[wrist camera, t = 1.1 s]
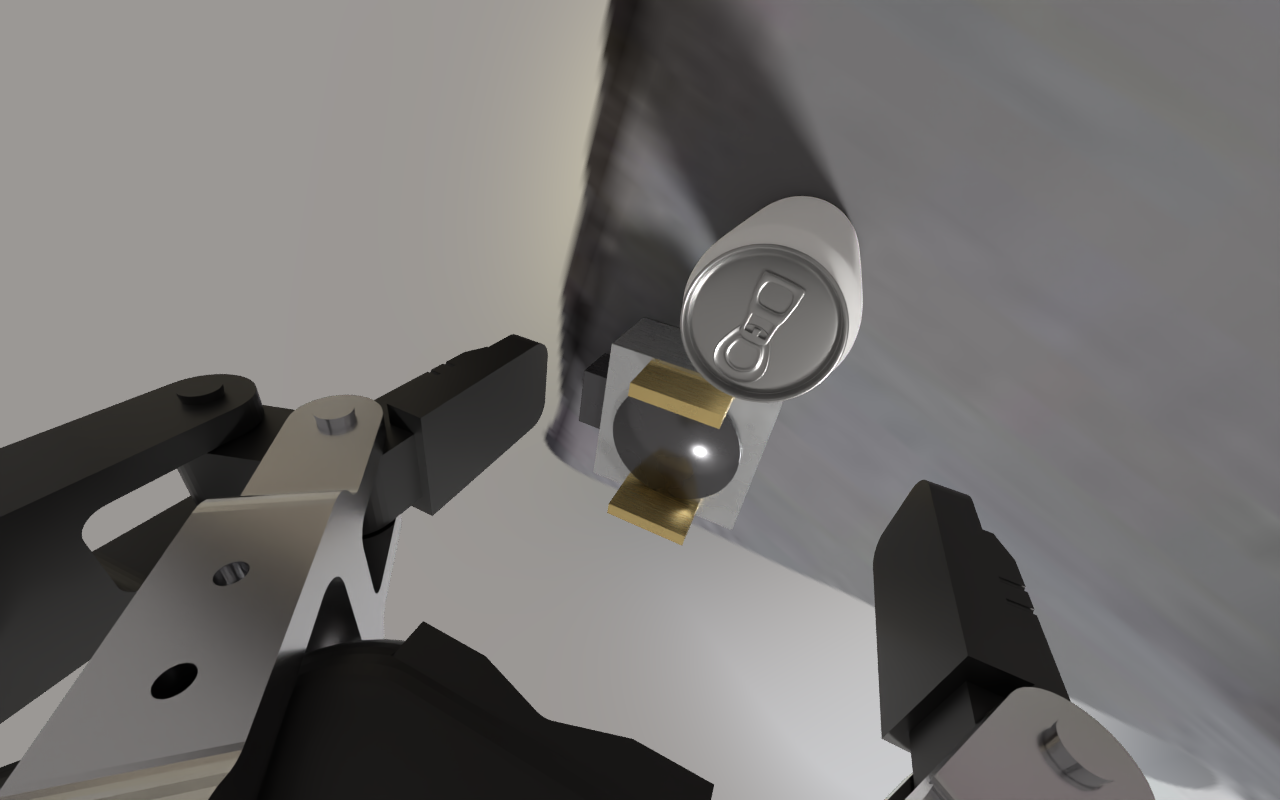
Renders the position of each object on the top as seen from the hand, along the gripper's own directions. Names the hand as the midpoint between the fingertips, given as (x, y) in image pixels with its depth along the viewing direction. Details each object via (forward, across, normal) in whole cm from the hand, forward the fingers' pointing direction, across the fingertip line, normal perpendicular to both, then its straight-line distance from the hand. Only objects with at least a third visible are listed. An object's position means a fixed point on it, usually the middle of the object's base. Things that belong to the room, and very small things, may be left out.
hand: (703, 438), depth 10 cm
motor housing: (+19, +3, +11) cm, 22 cm away
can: (+19, 0, 0) cm, 19 cm away
